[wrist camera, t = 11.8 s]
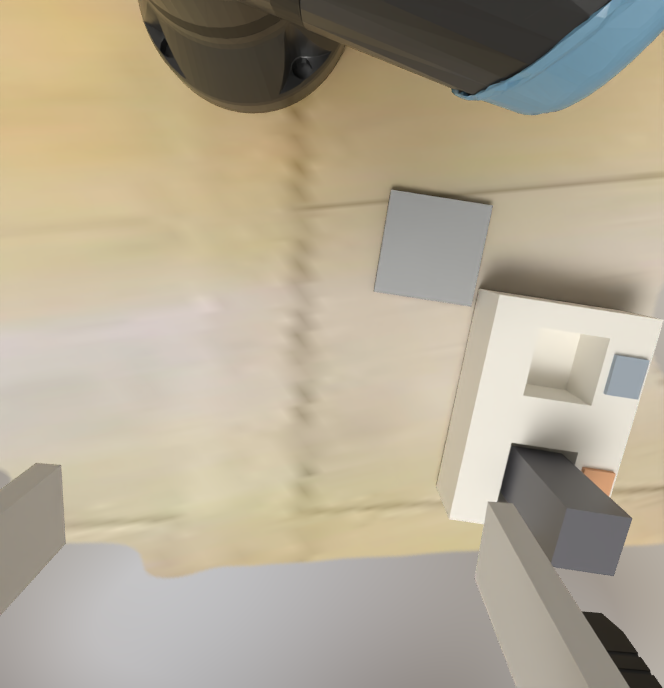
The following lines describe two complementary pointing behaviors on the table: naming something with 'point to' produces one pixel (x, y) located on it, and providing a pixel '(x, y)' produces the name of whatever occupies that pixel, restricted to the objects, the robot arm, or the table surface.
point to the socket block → (542, 393)
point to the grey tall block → (565, 510)
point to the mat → (432, 247)
